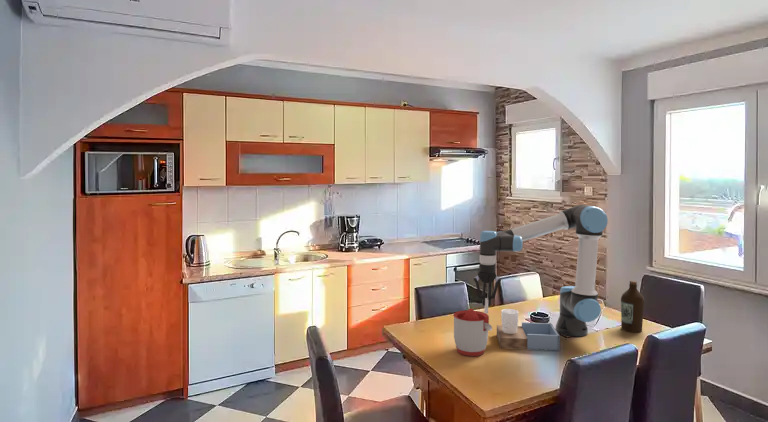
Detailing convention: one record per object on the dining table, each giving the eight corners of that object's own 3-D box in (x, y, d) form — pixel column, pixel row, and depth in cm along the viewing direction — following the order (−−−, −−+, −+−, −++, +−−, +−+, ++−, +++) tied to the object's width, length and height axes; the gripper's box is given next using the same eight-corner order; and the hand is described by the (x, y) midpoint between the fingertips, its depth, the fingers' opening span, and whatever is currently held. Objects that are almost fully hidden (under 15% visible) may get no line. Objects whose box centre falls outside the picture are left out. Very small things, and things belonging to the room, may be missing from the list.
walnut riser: (521, 336, 233) (521, 326, 233) (527, 349, 215) (527, 338, 215) (496, 335, 235) (496, 325, 234) (500, 348, 217) (500, 337, 217)
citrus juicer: (485, 362, 201) (485, 316, 200) (447, 354, 211) (447, 310, 209) (497, 350, 215) (497, 307, 213) (461, 343, 224) (461, 302, 222)
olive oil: (630, 325, 249) (631, 278, 247) (648, 331, 239) (650, 282, 237) (615, 327, 245) (616, 280, 243) (633, 334, 235) (634, 284, 233)
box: (551, 337, 231) (551, 323, 231) (559, 351, 213) (559, 335, 213) (521, 336, 233) (521, 322, 233) (527, 349, 215) (527, 334, 215)
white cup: (518, 335, 220) (519, 313, 219) (501, 333, 222) (501, 313, 221) (517, 329, 228) (517, 309, 227) (500, 328, 230) (501, 308, 229)
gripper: (500, 262, 227) (499, 310, 228) (473, 261, 228) (472, 309, 230) (502, 265, 219) (501, 315, 221) (473, 264, 221) (472, 314, 223)
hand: (486, 312), depth 226 cm, fingers closed
